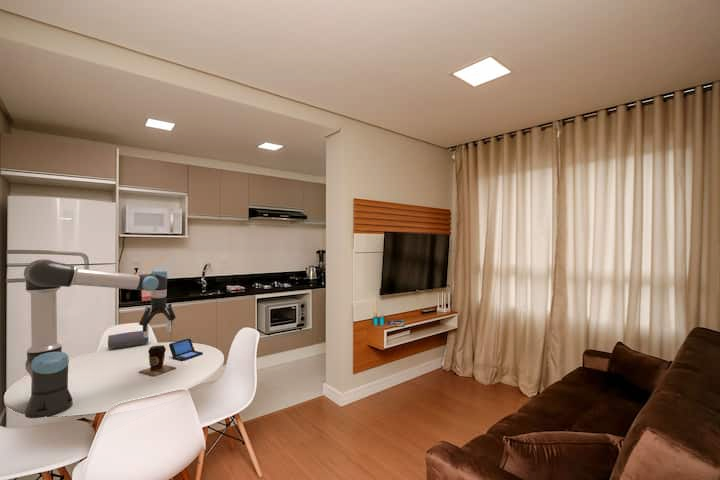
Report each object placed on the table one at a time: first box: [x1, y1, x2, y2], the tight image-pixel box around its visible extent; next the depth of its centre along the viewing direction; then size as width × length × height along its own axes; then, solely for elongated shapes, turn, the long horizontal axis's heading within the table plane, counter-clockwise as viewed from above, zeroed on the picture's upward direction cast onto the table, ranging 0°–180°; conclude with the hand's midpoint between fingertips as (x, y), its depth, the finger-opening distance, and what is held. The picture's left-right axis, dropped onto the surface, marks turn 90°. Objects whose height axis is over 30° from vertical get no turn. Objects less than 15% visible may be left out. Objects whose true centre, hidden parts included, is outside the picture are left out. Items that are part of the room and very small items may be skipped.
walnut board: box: [138, 364, 177, 378], centre depth 189 cm, size 13×13×1 cm
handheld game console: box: [168, 338, 204, 362], centre depth 214 cm, size 16×13×9 cm
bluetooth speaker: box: [107, 330, 150, 349], centre depth 232 cm, size 23×9×10 cm, turn 130°
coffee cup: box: [147, 344, 167, 371], centre depth 188 cm, size 9×8×13 cm
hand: (157, 334), depth 189 cm, fingers open, 13 cm apart
